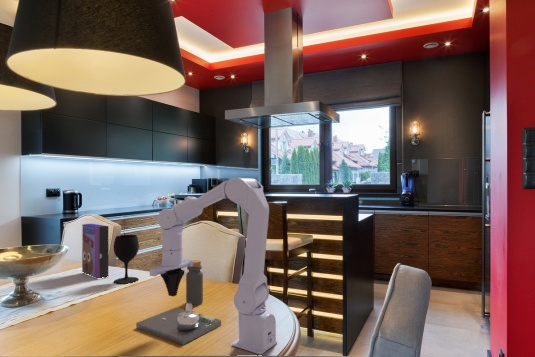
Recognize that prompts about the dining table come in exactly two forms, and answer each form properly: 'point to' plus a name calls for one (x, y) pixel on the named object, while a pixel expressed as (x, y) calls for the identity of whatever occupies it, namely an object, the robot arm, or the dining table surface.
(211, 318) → the lever base plate
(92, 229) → the cereal box
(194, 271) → the bottle
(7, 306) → the dining table surface
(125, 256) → the wine glass
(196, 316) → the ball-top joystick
